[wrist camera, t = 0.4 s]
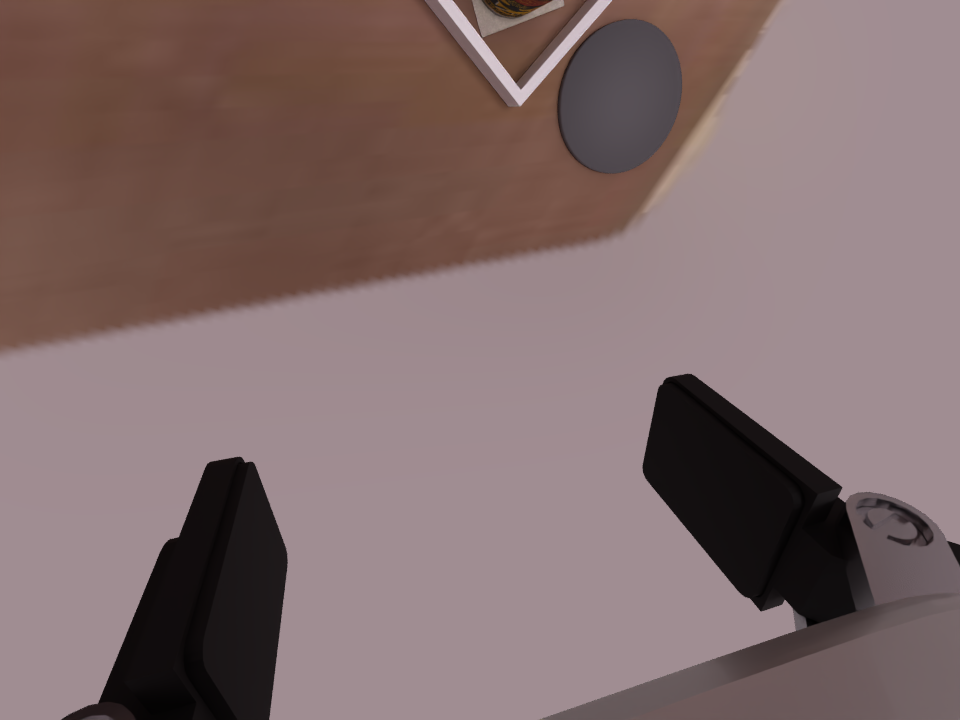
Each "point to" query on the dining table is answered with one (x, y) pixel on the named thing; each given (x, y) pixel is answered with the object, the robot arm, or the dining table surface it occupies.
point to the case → (489, 64)
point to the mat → (619, 96)
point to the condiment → (509, 12)
